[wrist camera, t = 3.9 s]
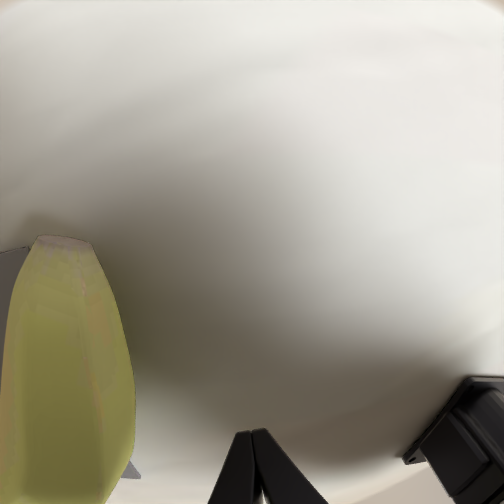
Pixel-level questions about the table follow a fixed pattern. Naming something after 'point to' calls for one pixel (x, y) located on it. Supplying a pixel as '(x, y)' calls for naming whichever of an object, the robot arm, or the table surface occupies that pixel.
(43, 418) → the banana
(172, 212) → the table surface
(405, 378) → the table surface
